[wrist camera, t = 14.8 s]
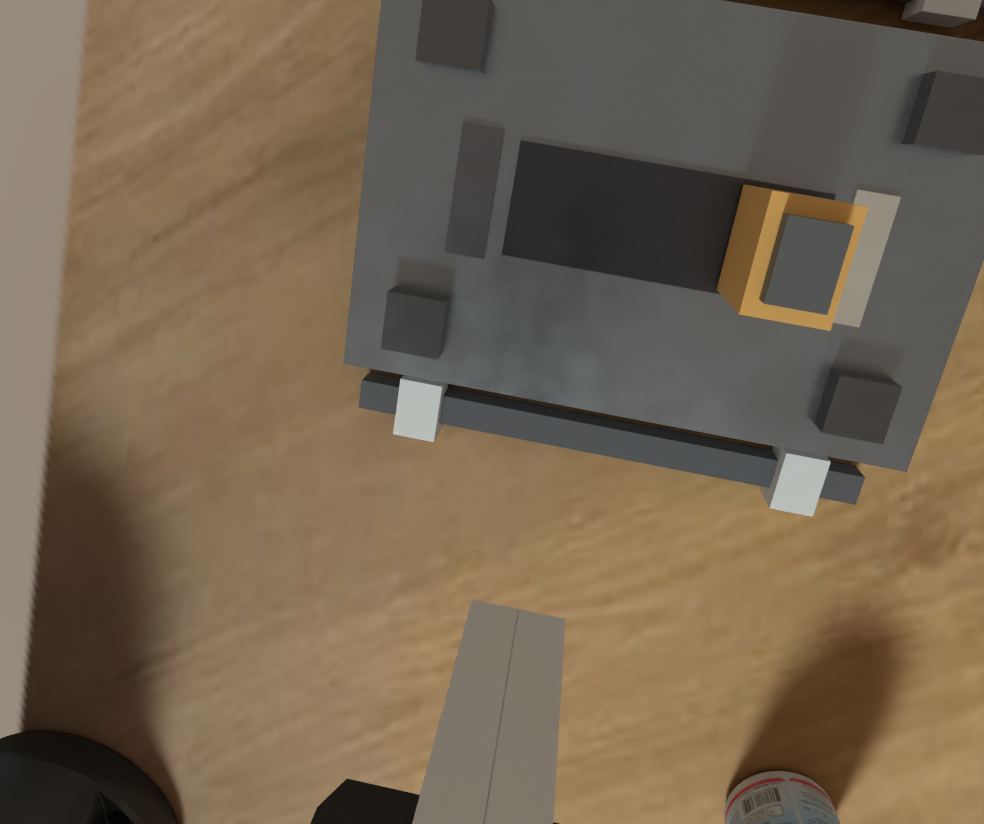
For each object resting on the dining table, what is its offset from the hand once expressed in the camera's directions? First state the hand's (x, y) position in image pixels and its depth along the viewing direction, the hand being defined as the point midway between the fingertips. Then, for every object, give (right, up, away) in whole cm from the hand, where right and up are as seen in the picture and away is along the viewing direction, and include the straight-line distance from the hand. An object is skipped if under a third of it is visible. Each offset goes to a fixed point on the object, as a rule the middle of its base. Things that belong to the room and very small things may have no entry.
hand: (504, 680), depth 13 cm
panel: (+7, +13, +23) cm, 27 cm away
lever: (+10, +11, +17) cm, 23 cm away
